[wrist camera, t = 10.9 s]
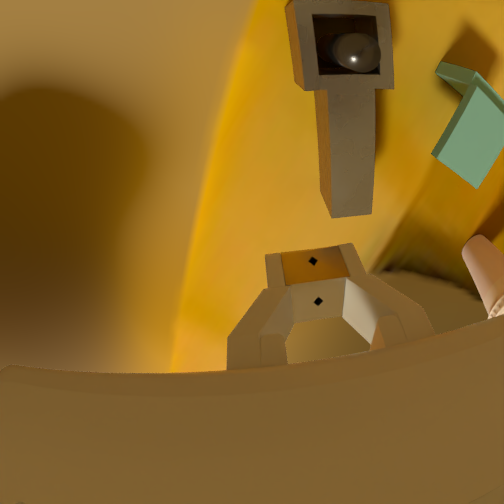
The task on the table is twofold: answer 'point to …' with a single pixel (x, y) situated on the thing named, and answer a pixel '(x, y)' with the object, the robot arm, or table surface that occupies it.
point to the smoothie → (486, 272)
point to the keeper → (471, 125)
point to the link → (343, 100)
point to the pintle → (350, 51)
